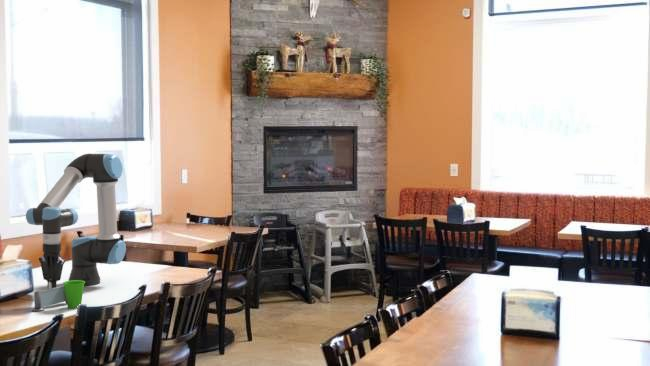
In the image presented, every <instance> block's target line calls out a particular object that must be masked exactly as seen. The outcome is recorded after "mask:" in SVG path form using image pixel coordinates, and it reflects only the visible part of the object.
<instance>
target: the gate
mask: <svg viewBox="0 0 650 366" xmlns="http://www.w3.org/2000/svg"><path fill="white" fill-rule="evenodd" d="M33 294H34V296H33V297H34V308H35V309H40V308H45V307H49V306H53V305H56V304H61V303H64V302H65V303H66V299H65V288H64V284H63V285H61V286H56V287H55V288H51V289H48V288H47V289H43V290H37V291H34V293H33Z"/></svg>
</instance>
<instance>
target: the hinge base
mask: <svg viewBox="0 0 650 366" xmlns="http://www.w3.org/2000/svg"><path fill="white" fill-rule="evenodd" d="M30 309H31V312H32V313H40V312H44V311H45V307H42V308H40V309H35V307H33V308H30Z"/></svg>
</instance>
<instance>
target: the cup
mask: <svg viewBox="0 0 650 366" xmlns="http://www.w3.org/2000/svg"><path fill="white" fill-rule="evenodd" d="M84 283H85V281H81V280H72V281H68V280H66V281H64V282H63V283H62V284H63V285H64V288H65V293H66V299H67V304H66V305H67V308H68V309H69V308H70V310H75V309H74V308H77V306H78V305H79V304H81V305H82V301H83V294H84V287H85V286H84Z"/></svg>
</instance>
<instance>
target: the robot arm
mask: <svg viewBox="0 0 650 366" xmlns="http://www.w3.org/2000/svg"><path fill="white" fill-rule="evenodd" d="M123 169H124V168H123V164H122V161H121V159H120V158H119V156H118V155H116V154H111V153H84V154H82V155H80V156H78V157H76V158H75V159H73V160H71V162H69V164H67V165H66V167H65V168H64V170H63V174H62V176H60V178H59V179H58V181H57V182H55V184H54V186H53V187H52V188H51V190H49V191H48V193H47V194H46V195H45V197H44V198H43V199H42V200H41V202H40V203H39V204H38V205H37V207H32V208H28V209H27V211H26V213H25V221H26V222H27V223H28V224H29V225H35V226H42V252H43V255H42V256H41V257H39V258H38V261H39V263H40V267H41V272H42V277H43V278H42V279H43V281H45V280H46V282H47V289H51V288H55V287H57V282H58V281H59V282H60V281H61V280H62V279H61V278H62V274H63V267H64V264H65V262H66V259H62V258H61V250H62V244H61V242H62V232H61V231H62V228H64V227H70V226H72V225H75V224H77V222H78V221H79V215H78V212H77V211H76V210H75V209H73V208H65V209H62V208H60V206H61V205H62V203H64V201H65V200H66V199H67V197H68V196H69V195H70V193H71V191H72V190H73V189H74V188H75V187H76V185H77V184H79V183H81V182H82V181H83V180H85V179H87V178H92V181H93V182H92V183H93V184H94V185H95V186H96V199H97V200H96V201H97V220H98V235H90V236H82V237H76V238H74V239H72V241H71V270H70V273H69V277H68V279H67V281H72V280H81V281H85V283H84V287H86V286H88V287H89V286H95V285H98V284H100V283H101V276H100V274H99V271H98V267H97V266H98V265H97V264H106V265H118V264H120V263H121V262H122V261H123V260H124V258H125V255H126V253H127V252H126V251H127V245H126V242H125V241H124V240H121V237H122V236H121V235H120V234H119V233H118V223H117V222H118V221H117V202H116V201H117V200H116V199H117V198H116V184H117V183H118V182H119V179H120V178H121V176H122V175H123Z"/></svg>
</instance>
